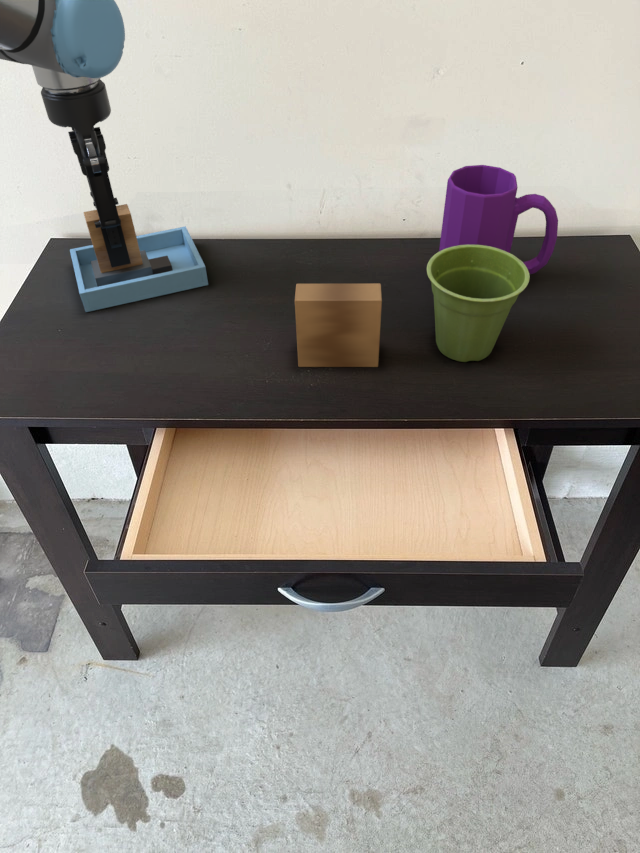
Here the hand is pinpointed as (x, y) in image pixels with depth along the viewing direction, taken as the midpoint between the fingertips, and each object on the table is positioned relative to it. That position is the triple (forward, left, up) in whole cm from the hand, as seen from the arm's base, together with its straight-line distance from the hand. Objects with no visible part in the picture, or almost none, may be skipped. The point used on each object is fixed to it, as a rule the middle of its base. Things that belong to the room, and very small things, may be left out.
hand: (118, 257), depth 95 cm
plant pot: (+38, -33, -4) cm, 51 cm away
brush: (0, 0, -3) cm, 3 cm away
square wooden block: (+22, -29, -4) cm, 37 cm away
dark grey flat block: (+5, 0, -3) cm, 6 cm away
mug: (+49, -21, -4) cm, 54 cm away
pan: (+2, 0, -4) cm, 4 cm away
